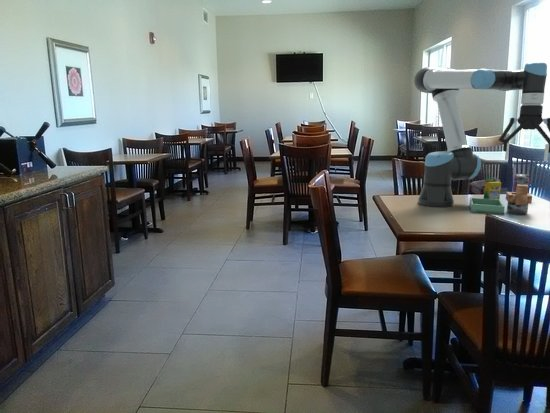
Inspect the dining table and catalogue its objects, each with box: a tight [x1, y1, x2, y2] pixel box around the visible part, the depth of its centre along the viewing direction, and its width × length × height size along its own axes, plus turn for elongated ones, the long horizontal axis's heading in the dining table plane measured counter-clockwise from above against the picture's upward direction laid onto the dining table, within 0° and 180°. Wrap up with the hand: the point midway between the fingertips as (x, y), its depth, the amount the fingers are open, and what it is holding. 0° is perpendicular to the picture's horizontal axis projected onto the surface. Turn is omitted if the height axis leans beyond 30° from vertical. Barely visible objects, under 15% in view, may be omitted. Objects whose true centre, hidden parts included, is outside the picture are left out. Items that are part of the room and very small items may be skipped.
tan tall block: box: [505, 184, 533, 205], centre depth 187 cm, size 8×13×8 cm, turn 160°
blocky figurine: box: [506, 175, 529, 216], centre depth 189 cm, size 8×8×16 cm
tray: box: [468, 197, 506, 215], centre depth 198 cm, size 12×17×3 cm
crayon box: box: [483, 176, 502, 200], centre depth 212 cm, size 7×3×12 cm, turn 114°
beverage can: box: [511, 173, 531, 194], centre depth 223 cm, size 7×7×12 cm
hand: (525, 160), depth 180 cm, fingers open, 13 cm apart
